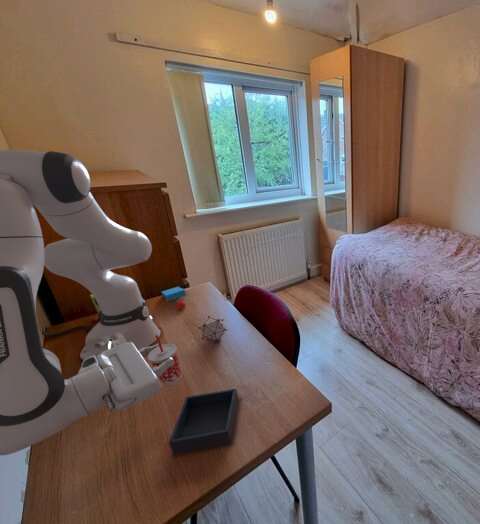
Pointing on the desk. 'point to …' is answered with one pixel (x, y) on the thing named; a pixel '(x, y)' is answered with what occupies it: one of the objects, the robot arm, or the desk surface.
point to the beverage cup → (158, 356)
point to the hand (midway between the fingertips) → (167, 352)
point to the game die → (212, 329)
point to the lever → (175, 296)
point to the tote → (205, 421)
